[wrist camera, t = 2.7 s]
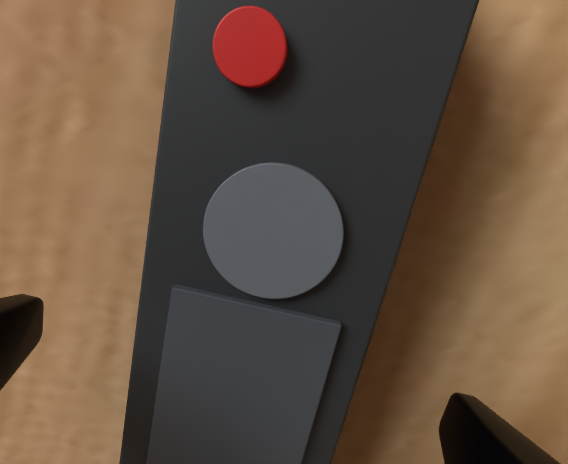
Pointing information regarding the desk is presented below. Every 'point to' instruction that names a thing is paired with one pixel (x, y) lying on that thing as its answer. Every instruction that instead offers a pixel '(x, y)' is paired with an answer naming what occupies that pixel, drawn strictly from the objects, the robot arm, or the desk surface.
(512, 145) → the desk surface
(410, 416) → the desk surface
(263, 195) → the remote
